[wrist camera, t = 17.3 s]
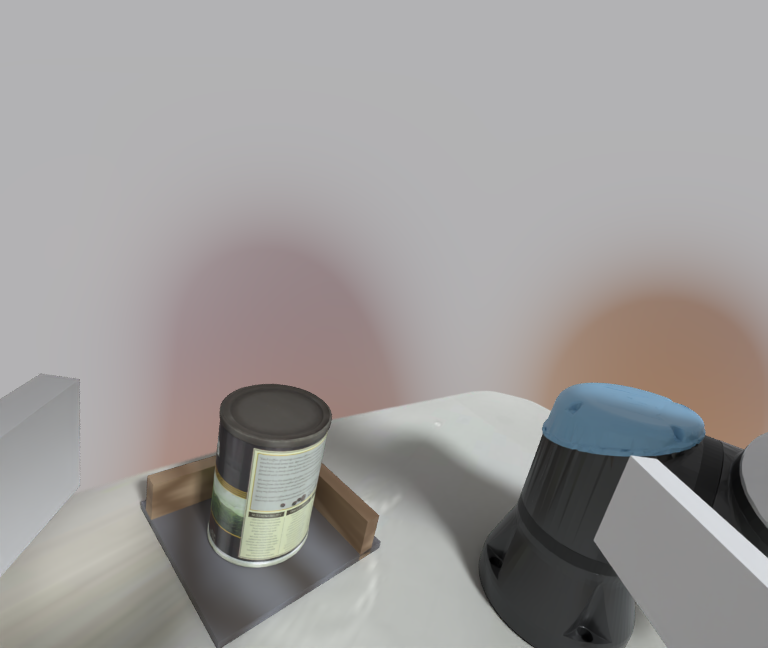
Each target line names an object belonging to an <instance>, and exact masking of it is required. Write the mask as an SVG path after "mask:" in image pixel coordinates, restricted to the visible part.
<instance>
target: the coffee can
mask: <svg viewBox="0 0 768 648" xmlns="http://www.w3.org/2000/svg"><path fill="white" fill-rule="evenodd" d="M331 420H332V414H331V410H330V409H329V407H328V405H327V404H326V403H325V402H324V401H323V400H322V399H320V398H319V397H317V396H316V395H314V394H312V393H310V392H308V391H306V390H303V389H300V388H296V387H292V386H287V385H279V384H261V385H253V386H248V387H244V388H241V389H238V390H236V391H234V392H232V393H231V394H229V395H228V396H227V397H226V398H225V399H224V400H223V401H222V403H221V407H220V426H219V436H218V444H217V454H216V464H215V473H214V483H213V492H212V501H211V510H210V519H209V523H208V529H207V533H208V539H209V543H210V545H211V546H212V548H213V549H214V551H215V552H216V553H217V554H218V555H219V556H220V557H222V558H223V559H225V560H226V561H228V562H230V563H233V564H236V565H239V566H242V567H251V568H260V567H267V566H272V565H276V564H279V563H281V562H284V561H285V560H287V559H288V558H290V557H292V556H293V555H295V554H296V553H297V552H298V551H299V550H300V549H301V547H302V546H303V544H304V543H305V541H306V539H307V536H308V531H309V522H310V517H311V512H312V507H313V502H314V497H315V492H316V487H317V482H318V477H319V472H320V467H321V462H322V457H323V452H324V447H325V442H326V437H327V432H328V430H329V428H330V425H331Z"/></svg>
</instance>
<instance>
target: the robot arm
mask: <svg viewBox="0 0 768 648" xmlns="http://www.w3.org/2000/svg"><path fill="white" fill-rule="evenodd" d="M542 431H543V435H542V437H541V440H540V443H539V446H538V449H537V452H536V454H535V457H534V460H533V462H532V465H531V468H530V470H529V473H528V476H527V478H526V481H525V484H524V487H523V489H522V492H521V495H520V498H519V501H518V503H517V504H516V506H515V507H514V508H513V509H512V510H511V511H510V512H509V513H508V514H507V515H506V516H505V517H504V519H503V520H502V521H501V522H500V523H499V524H498V525H497V526H496V527H495V528H494V529H493V530H492V532H491V533H490V534H489V536H488V538H487V540H486V542H485V545H484V548H483V550H482V553H481V556H480V560H479V573H480V579H481V582H482V586H483V588H484V591H485V593H486V595H487V597H488V599H489V601H490V602H491V604H492V605H493V607H494V608H495V610H496V611H497V613H498V614H499V615H500V616H501V618H502V619H503V620H504V621H505V622H506V623H507V624H508V625H509V626H510V627H511V628H512V629H513V630H514V631H515V632H516V633H517V634H518V635H519V636H520V637H522V638H523V639H524V640H526V641H527V642H528V643H530V644H531V645H532V646H534V647H536V648H625V647H626V645H627V643H628V641H629V639H630V637H631V634H632V632H633V627H634V622H635V601H636V603H637V604H638V606H639V607H640V609H641V610H642V611H643V613H644V614H645V616H646V617H647V619H648V620H649V622H650V623H651V624H652V626H653V627H654V629H655V630H656V632H657V633H658V635H659V636H660V638H661V639H662V640H663V642H664V643H665V645H666V646H667V648H768V432H767V433H765V434H763V435H761V436H758V437H757V438H756V439H755V440H753V441H752V442H751V443H750V444H749V445H748V446H747V447H746V448H745V450H744V449H741V448H739V447H736V446H733V445H730V444H728V443H725V442H722V441H720V440H716V439H714V438H711V437H708V436H706V435H705V429H704V422H703V420H702V419H701V417H700V416H699V415H697V414H696V413H695V412H694V411H692V410H690V409H689V408H687V407H686V406H684V405H682V404H678V403H674V402H672V400H671V399H668V398H666V397H663V396H660V395H657V394H654V393H651V392H648V391H644V390H640V389H636V388H632V387H627V386H622V385H615V384H607V383H583V384H577V385H573V386H571V387H569V388H567V389H565V390H564V391H562V392H561V393H560V395H559V396H558V397H557V399H556V401H555V404H554V406H553V408H552V410H551V413H550V415H549V417H548V419H547V420H546V421H545V422H544V424H543V427H542ZM79 486H80V379H75V378H68V377H61V376H54V375H45V374H39V375H38V376H36V377H35V378H33V379H31V380H30V381H28V382H27V383H25V384H24V385H22V386H20V387H19V388H17V389H16V390H14V391H12V392H11V393H9V394H8V395H6V396H4V397H3V398H1V399H0V577H1V576H2V575H3V573H4V572H5V571H6V570H7V569H8V568H9V567H10V565H11V564H12V563H13V562H14V561H15V560H16V559H17V557H18V556H19V555H20V554H21V553H22V552H23V551H24V549H25V548H26V547H27V546H28V545H29V544H30V543H31V541H32V540H33V539H34V538H35V537H36V536H37V535H38V533H39V532H40V531H41V530H42V529H43V528H44V527H45V525H46V524H47V523H48V522H49V521H50V520H51V518H52V517H53V516H54V515H55V514H56V513H57V512H58V510H59V509H60V508H61V507H62V506H63V505H64V504H65V502H66V501H67V500H68V499H69V498H70V497H71V496H72V494H73V493H74V492H75V491H76V490H77V489H78V487H79Z"/></svg>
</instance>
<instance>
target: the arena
mask: <svg viewBox="0 0 768 648" xmlns="http://www.w3.org/2000/svg"><path fill="white" fill-rule="evenodd" d="M215 464H216V456H212V457H209V458H206V459H202V460H199V461H195V462H192V463H189V464H185V465H182V466H179V467H175V468H172V469H169V470H165V471H162V472H159V473H155V474H152V475H149V476H148V477H147V497H146V500H145V501H142V502H141V509H142V511H143V513H144V515H145V516H146V518H147V520H148V522H149V524H150V526H151V527H152V529H153V531H154V533H155V535H156V537H157V539H158V540H159V542H160V544H161V546H162V548H163V550H164V552H165V553H166V555H167V557H168V559H169V561H170V563H171V564H172V566H173V568H174V570H175V572H176V574H177V576H178V577H179V579H180V581H181V583H182V585H183V587H184V589H185V590H186V592H187V594H188V596H189V598H190V600H191V601H192V603H193V605H194V607H195V609H196V611H197V613H198V614H199V616H200V618H201V620H202V622H203V624H204V626H205V627H206V629H207V631H208V633H209V635H210V637H211V638H212V640H213V642H214V644H215V646H216V648H221V647H223V646H224V645H226V644H228V643H229V642H231V641H232V640H234V639H236V638H237V637H239V636H240V635H242V634H243V633H245V632H247V631H248V630H250V629H251V628H253V627H255V626H256V625H258V624H259V623H261V622H262V621H264V620H266V619H267V618H269V617H270V616H272V615H274V614H275V613H277V612H278V611H280V610H281V609H283V608H285V607H286V606H288V605H289V604H291V603H292V602H294V601H296V600H297V599H299V598H300V597H302V596H304V595H305V594H307V593H308V592H310V591H311V590H313V589H315V588H316V587H318V586H319V585H321V584H323V583H324V582H326V581H327V580H329V579H330V578H332V577H334V576H335V575H337V574H338V573H340V572H342V571H343V570H345V569H346V568H348V567H349V566H351V565H353V564H354V563H356V562H357V561H359V560H360V559H362V558H364V557H365V556H367V555H368V554H370V553H372V552H373V551H375V550H376V549H378V548H379V546H380V541H379V540H378V539H377V538H376V537H375V536H374V535H375V531H376V526H377V522H378V518H379V515H378V514H377V513H376V512H375V511H374V510H373V509H372V508H370V507H369V506H368V505H367V504H366V503H365V502H364V501H363V500H362V499H361V498H360V497H358V496H357V495H356V494H355V493H354V492H353V491H352V490H351V489H350V488H349V487H348V486H347V485H345V484H344V483H343V482H342V481H341V480H340V479H339V478H338V477H337V476H336V475H335V474H333V473H332V472H331V471H330V470H329V469H328V468H327V467H326V466H325V465H324V464H323V463H321V467H320V472H319V477H318V482H317V487H316V492H315V497H314V502H313V507H312V512H311V517H310V522H309V531H308V536H307V539H306V541H305V543H304V544H303V546H302V547H301V549H300V550H299V551H298V552H297V553H296V554H295V555H293V556H292V557H290V558H288V559H287V560H285V561H284V562H281V563H279V564H276V565H272V566H267V567H260V568H251V567H242V566H239V565H236V564H233V563H230V562H228V561H226V560H225V559H223V558H222V557H220V556H219V555H218V554H217V553H216V552H215V551H214V549H213V548H212V546H211V545H210V543H209V539H208V533H207V529H208V523H209V519H210V510H211V501H212V492H213V483H214V473H215Z"/></svg>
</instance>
